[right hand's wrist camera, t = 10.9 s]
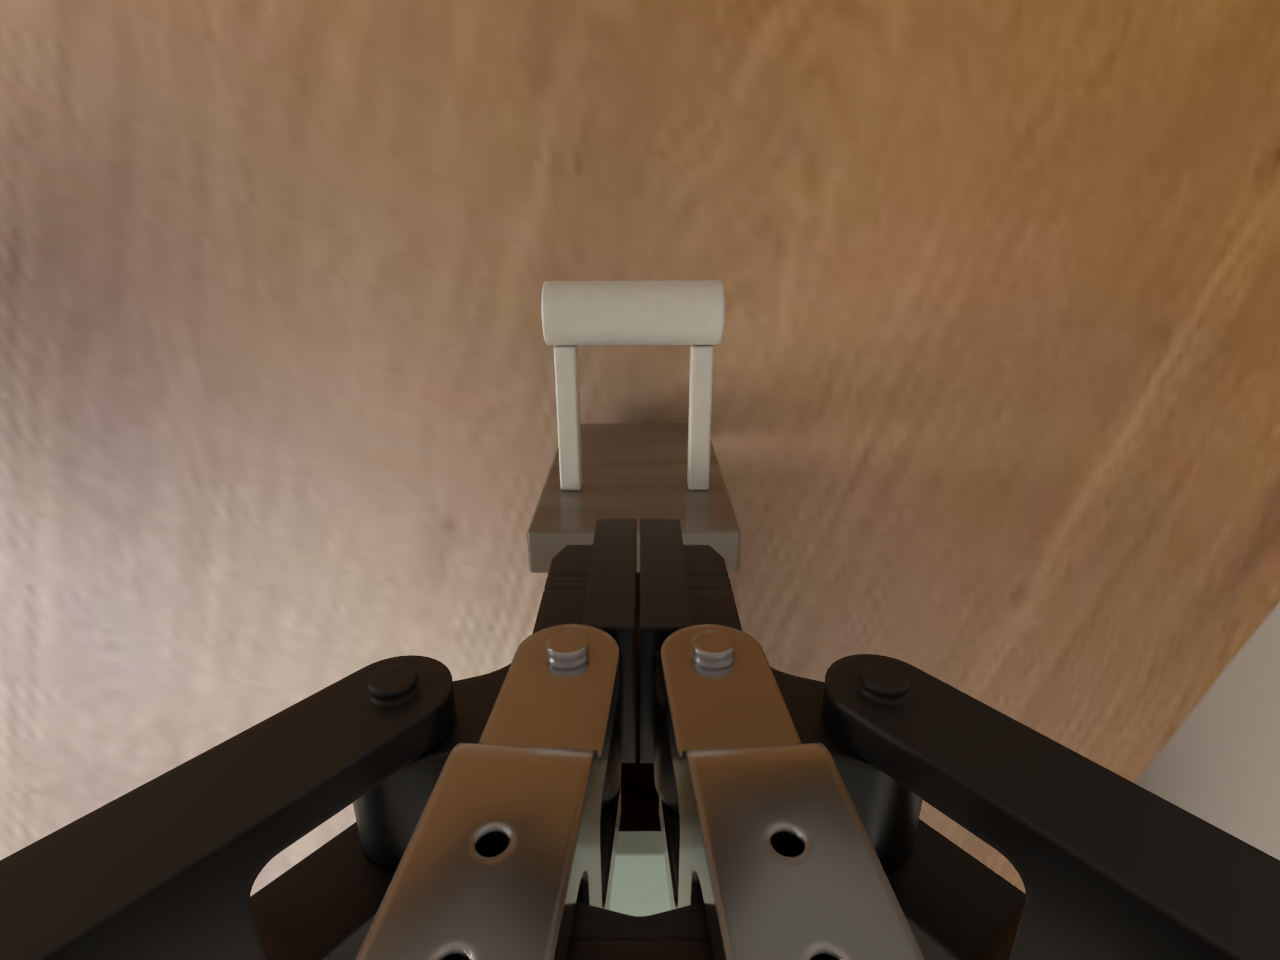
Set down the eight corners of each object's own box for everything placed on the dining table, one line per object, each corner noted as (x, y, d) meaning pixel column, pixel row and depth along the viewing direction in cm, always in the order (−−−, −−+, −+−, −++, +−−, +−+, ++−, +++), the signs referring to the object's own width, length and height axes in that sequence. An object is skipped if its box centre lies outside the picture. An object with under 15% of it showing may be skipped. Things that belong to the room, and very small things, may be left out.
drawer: (558, 265, 24) (509, 292, 15) (711, 264, 24) (754, 291, 15) (582, 803, 33) (560, 1025, 24) (693, 803, 33) (714, 1025, 24)
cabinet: (563, 629, 31) (521, 855, 20) (710, 629, 31) (749, 854, 20) (579, 941, 38) (555, 1230, 27) (698, 941, 38) (721, 1230, 27)
